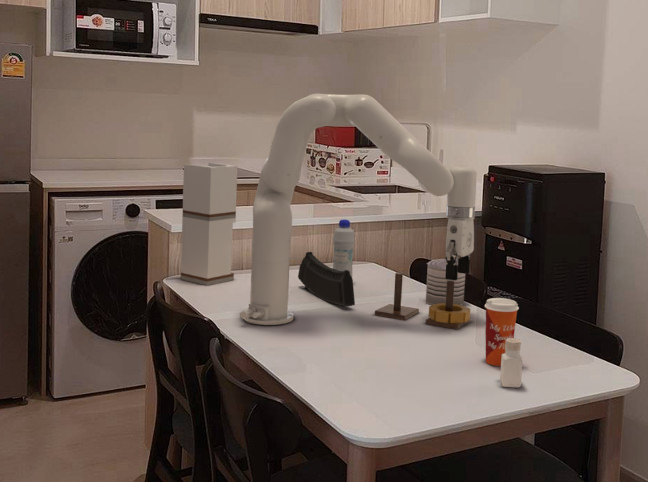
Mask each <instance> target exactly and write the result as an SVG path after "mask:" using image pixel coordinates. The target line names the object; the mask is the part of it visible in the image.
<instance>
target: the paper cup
mask: <svg viewBox="0 0 648 482" xmlns="http://www.w3.org/2000/svg"><path fill="white" fill-rule="evenodd" d="M518 305H519V304H518V303H517V301H515V300H513V299H511V298H504V297H492V298H488V299H487V300H486V302H485V304H484V308H485V331H484V335H485V362H486V364H488V365H491V366H494V367H495V366H496V367H501V358H502V354H504V353H505V341H506V339H508V338H514V339H515V331H516V321H517V314H518V310H519V309H520V307H519V306H518Z"/></svg>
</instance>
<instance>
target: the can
mask: <svg viewBox="0 0 648 482" xmlns="http://www.w3.org/2000/svg"><path fill="white" fill-rule="evenodd" d="M454 260H455V258H454ZM426 265H427V272H426V273H427V274H426V287H425V302H426V304H427V305H430V306H431V305H433V304H438V303H446V286H447V281H448V279H446V278H445V276H446V258H439V259H438V258H437V259H432V260H430V261H428V262H426ZM457 265H458V262H457ZM452 281H454V297H453V304H459V305H463V306H464V304H465V303H464V302H465V287H466V285H465V284H466V274H464V273H458V278H457V280H452Z"/></svg>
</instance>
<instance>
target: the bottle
mask: <svg viewBox="0 0 648 482" xmlns="http://www.w3.org/2000/svg"><path fill="white" fill-rule="evenodd" d="M333 232H334V233H333V237H332V241H333V260H332V261H333V263H332V268H333V269H336V270H339V271H345V270H348V271H350V275H351V277H352V278H353V259H354V247H355V241H356V239H355V230H354V229H353V228H351V222H350V220H348V219H346V218H345V219H340V220H339V222H338V227H336V228H335V229H334V231H333Z"/></svg>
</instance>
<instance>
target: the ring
mask: <svg viewBox="0 0 648 482" xmlns="http://www.w3.org/2000/svg"><path fill="white" fill-rule="evenodd" d="M428 318H431V319H432V320H435V321H438V322H444V323H463V322H466V321H468V320H470V321H471V308H469V307H468V306H466V305H464V304H463V305H459V304H453V311H452V312H449V311H445V303H438V304H433V305H430V306H429V305H428Z"/></svg>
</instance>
